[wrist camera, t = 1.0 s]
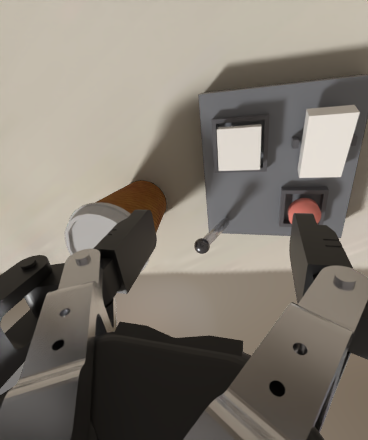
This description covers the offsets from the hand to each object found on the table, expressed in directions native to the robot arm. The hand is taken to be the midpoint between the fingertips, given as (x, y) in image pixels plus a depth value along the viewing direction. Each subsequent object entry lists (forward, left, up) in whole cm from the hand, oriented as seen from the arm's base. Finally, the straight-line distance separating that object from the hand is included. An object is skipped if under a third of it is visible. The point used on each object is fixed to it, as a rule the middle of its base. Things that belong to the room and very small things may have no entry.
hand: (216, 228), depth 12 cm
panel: (+3, +4, -20) cm, 20 cm away
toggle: (+9, -1, -17) cm, 19 cm away
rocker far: (0, +8, -15) cm, 17 cm away
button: (+7, +7, -16) cm, 18 cm away
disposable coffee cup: (+8, -13, -20) cm, 25 cm away
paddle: (0, 0, -16) cm, 16 cm away
